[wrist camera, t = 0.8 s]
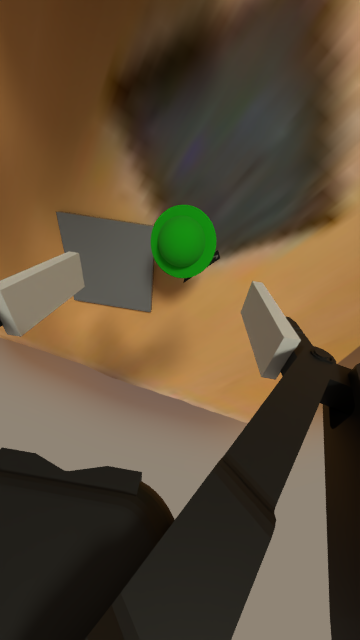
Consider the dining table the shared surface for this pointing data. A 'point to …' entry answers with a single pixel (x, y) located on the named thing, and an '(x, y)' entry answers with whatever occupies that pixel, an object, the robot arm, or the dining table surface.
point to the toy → (183, 241)
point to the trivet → (111, 259)
